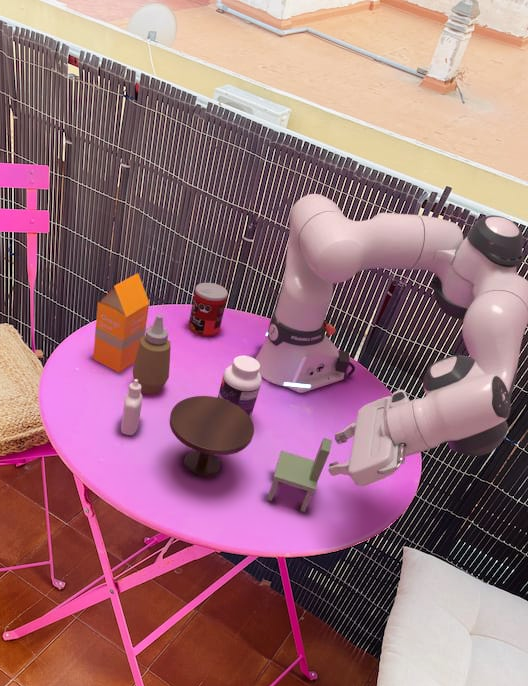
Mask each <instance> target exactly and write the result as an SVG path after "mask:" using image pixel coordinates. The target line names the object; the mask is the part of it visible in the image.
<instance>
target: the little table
mask: <svg viewBox="0 0 528 686" xmlns="http://www.w3.org/2000/svg"><path fill="white" fill-rule="evenodd" d="M169 427H170V430H171V432H172V434H173V435H174V437H175V438H176V439H177V440H178V441H179V442H180V443H182V444H183V445H185V446H186V447H188V448H189V449H191V450H194V451H191V452H189V453H188V454H186V456H185V458H184V467H185V469H186V470H187V471H188V472H189V473H190V474H191V475H193V476H195V477H199V478H211V477H214V476H215V475H217V474H218V472H219V470H220V468H221V466H220V461H219V459H218V458H217V457H216V456H228V455H234V454H237V453H240V452H242V451H243V450H244V449H246V448H247V447H248V446H249V445H250V444H251V442H252V440H253V437H254V433H255V426H254V422H253V420H252V417H251V418H250V417H249V415H248V414H247V413H246V412H245V411H244V410H243V409H241V408H240V407H239V406H237V405H235V404H234V403H232V402H229V401H227V400H224V399H221V398H218V396H217V397H216V396H212V395H211V396H210V395H195V396H190V397H187V398H184V399H182V400H179V402H177V403H176V404H175V405H174V406H173V408H172V409H171V411H170V416H169Z"/></svg>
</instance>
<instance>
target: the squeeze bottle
mask: <svg viewBox="0 0 528 686" xmlns="http://www.w3.org/2000/svg"><path fill="white" fill-rule="evenodd" d="M168 338H169V332H168V330H167V329H166V328H164V320H163V315H161V314H158V315H156V317H155V320H154V322H153V325H152V326H149V327H146V331H145V336H143V337H142V338H141V340H140V343H139V347H138V351H137V355H136V359H135V362H134V363H133V367H132V378H133V381H134V380H135V379H137V380H138V383H139V384H140V385H141V394H144V395H149V396H154V395H158V394H159V393H161V391H162V390H163V389H164V387H165V385H166V383H167V381H168V380H169V378H170V364H171V363H170V362H171V346H172V345H171V344H172V343H171V341H170V340H169V339H168Z"/></svg>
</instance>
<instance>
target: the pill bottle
mask: <svg viewBox="0 0 528 686" xmlns="http://www.w3.org/2000/svg"><path fill="white" fill-rule="evenodd" d="M259 368H260V364H259V362H258V361H257V360H256V359H255V358H254V357H252V356H248V355H238V356H236V357H234V358H233V360H232V364H231V365H228V366H227V367H226V368H225V370H224V372H223V374H222V378H221V383H220V387H219V390H218V394H217V398H221V399H224V400H227V401H229V402H232V403H234V404H235V405H237V406H239V407H240V408H241V409H243V410H244V411H245V412H246V413H247V414H248V415H249V417H250V418H251V419H252V415H253V412H254V409H255V405H256V403H257V399H258V394H259V393H260V390H261V386H262V381H263V377H261V375H260V373H259Z"/></svg>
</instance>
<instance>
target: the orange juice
mask: <svg viewBox="0 0 528 686" xmlns="http://www.w3.org/2000/svg"><path fill="white" fill-rule="evenodd" d="M149 306H150V300H149V297H148V296H147V291H146V290H145V287H144V285H143V282H142V279H141V276H140V274H139V272H137V273H135V274H134V275H131V276H129V277H128V278H126V279H124V280H122V281H121V282H119V283H117V284H115V285H113V288H111V290H109V291H108V292H107V293H106V295H104V296H103V297H102V299H100V300H99V301H98V302H97V310H96V321H95V331H94V346H93V357H92V359H93V360H95V361H96V362H98V363H100V364H102V365H104V366H105V367H108V368H109V369H111V370H113V371H115V372H117V373H121V372H122V371H124V370H125V369H127V368H128V367H130V366H131V365H134V363H135V359H136V355H137V351H138V347H139V343H140V340H141V338H142V337H143V336H145V335H146V330H147V321H148V314H149Z"/></svg>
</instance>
